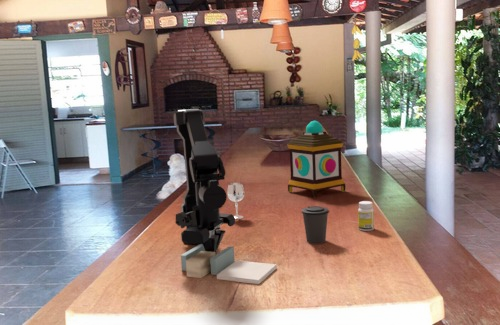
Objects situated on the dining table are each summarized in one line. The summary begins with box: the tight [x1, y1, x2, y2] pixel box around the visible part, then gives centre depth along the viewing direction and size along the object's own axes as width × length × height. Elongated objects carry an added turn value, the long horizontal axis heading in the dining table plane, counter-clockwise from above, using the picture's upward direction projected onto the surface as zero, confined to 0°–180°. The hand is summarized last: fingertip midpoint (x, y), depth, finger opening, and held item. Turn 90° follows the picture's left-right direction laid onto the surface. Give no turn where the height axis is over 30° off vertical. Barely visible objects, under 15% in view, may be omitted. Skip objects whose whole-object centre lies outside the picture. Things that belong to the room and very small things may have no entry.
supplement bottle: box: [357, 200, 375, 232], centre depth 161 cm, size 5×5×8 cm
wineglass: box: [227, 182, 245, 220], centre depth 183 cm, size 6×6×12 cm
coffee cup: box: [300, 205, 330, 245], centre depth 151 cm, size 8×8×10 cm
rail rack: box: [180, 244, 236, 276], centre depth 135 cm, size 10×10×4 cm
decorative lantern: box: [286, 120, 346, 199], centre depth 218 cm, size 20×20×30 cm
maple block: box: [185, 251, 215, 279], centre depth 131 cm, size 8×4×4 cm, turn 157°
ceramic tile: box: [216, 259, 278, 285], centre depth 128 cm, size 11×11×1 cm
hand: (211, 259), depth 136 cm, fingers closed
